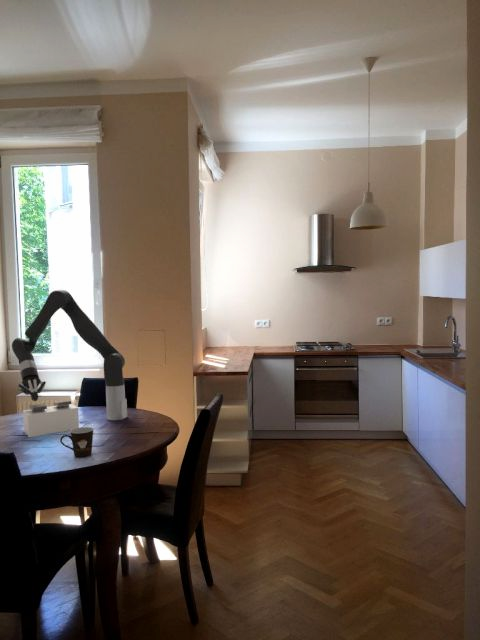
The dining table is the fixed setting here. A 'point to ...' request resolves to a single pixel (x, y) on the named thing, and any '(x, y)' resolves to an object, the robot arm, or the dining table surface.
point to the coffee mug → (81, 441)
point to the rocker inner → (62, 403)
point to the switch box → (50, 420)
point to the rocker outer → (37, 407)
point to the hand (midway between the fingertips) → (35, 400)
